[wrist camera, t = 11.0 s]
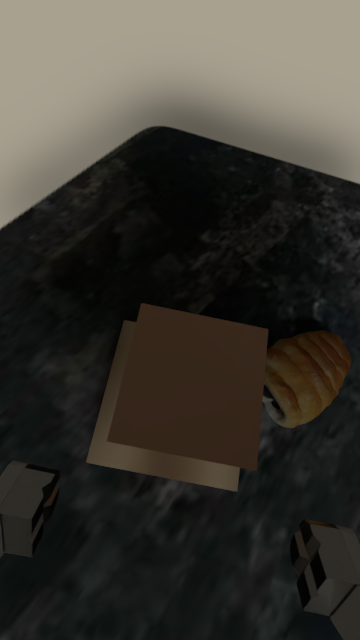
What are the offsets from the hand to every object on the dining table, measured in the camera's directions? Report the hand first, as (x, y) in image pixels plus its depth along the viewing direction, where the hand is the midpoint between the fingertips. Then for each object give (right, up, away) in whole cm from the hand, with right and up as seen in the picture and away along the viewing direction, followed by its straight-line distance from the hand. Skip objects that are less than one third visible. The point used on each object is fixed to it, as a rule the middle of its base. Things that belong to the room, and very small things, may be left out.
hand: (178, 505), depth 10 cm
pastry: (+10, +1, +17) cm, 20 cm away
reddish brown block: (0, +1, +11) cm, 11 cm away
